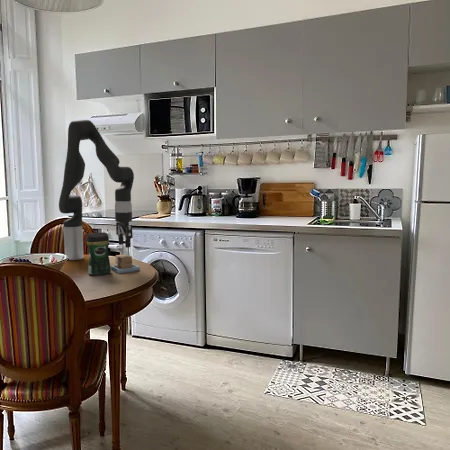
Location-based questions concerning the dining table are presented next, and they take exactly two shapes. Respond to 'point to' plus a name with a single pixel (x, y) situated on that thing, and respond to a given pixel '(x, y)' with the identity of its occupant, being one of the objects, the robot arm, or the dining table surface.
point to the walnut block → (124, 262)
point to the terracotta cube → (117, 258)
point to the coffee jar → (98, 253)
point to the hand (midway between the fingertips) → (124, 246)
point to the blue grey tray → (134, 268)
